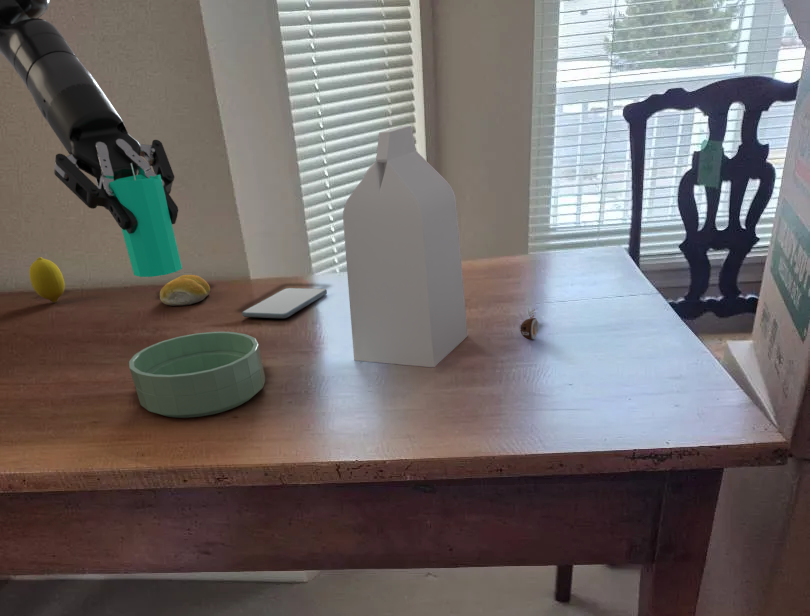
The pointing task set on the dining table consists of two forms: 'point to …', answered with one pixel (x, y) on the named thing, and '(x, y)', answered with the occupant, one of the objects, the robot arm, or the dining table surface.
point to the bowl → (198, 374)
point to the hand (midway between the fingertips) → (154, 223)
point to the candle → (148, 226)
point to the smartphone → (284, 303)
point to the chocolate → (530, 327)
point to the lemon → (47, 279)
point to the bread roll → (184, 291)
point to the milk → (403, 259)
